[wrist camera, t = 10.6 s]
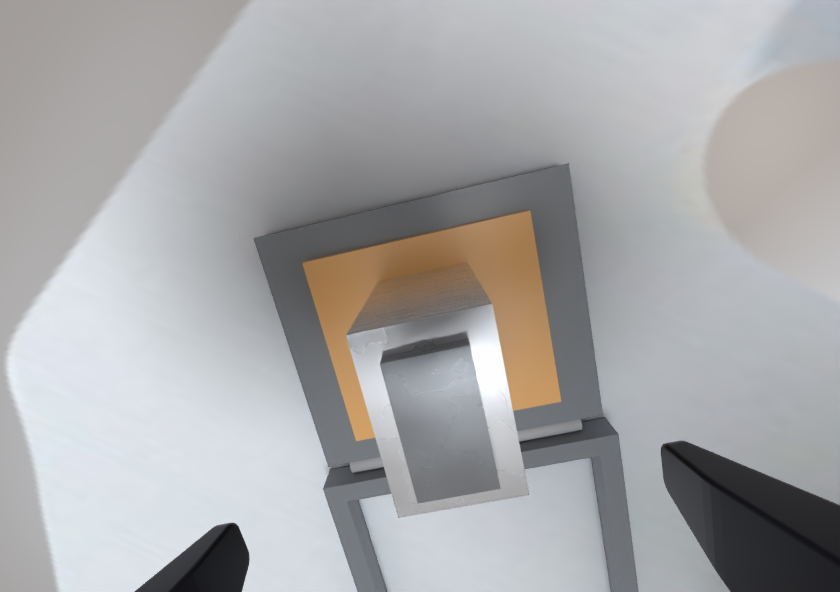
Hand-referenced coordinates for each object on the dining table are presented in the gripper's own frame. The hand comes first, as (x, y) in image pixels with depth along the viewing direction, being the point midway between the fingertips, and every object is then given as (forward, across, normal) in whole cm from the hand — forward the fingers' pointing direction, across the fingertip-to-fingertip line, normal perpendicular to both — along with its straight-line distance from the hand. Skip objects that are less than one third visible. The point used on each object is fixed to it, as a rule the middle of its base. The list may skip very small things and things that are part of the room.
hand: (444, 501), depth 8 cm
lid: (+12, 0, 0) cm, 12 cm away
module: (+10, 0, 0) cm, 10 cm away
